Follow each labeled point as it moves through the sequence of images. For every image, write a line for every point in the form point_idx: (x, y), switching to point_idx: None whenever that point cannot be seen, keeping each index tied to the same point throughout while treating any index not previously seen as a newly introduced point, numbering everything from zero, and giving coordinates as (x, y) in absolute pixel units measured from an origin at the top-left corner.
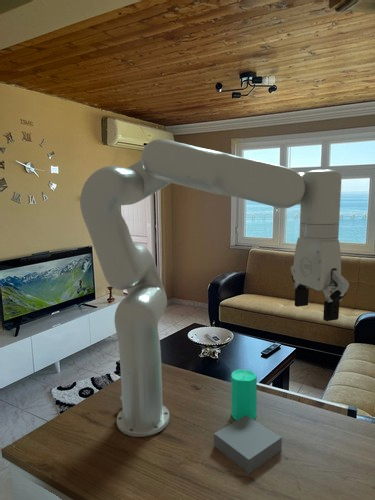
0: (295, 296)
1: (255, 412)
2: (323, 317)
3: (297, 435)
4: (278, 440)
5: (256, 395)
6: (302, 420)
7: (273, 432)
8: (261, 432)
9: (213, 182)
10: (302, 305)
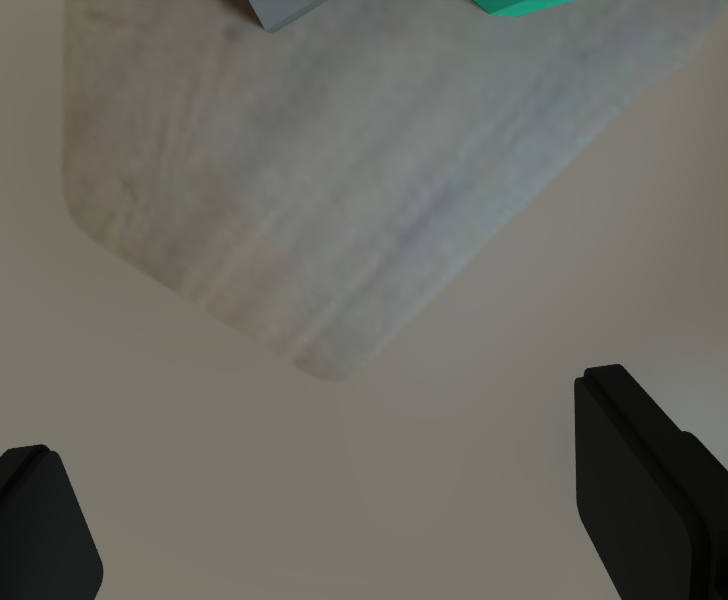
0: (667, 438)
1: (484, 2)
2: (37, 459)
3: (340, 133)
4: (255, 11)
5: (513, 3)
6: (418, 193)
7: (300, 7)
8: None
9: None
10: (575, 446)
